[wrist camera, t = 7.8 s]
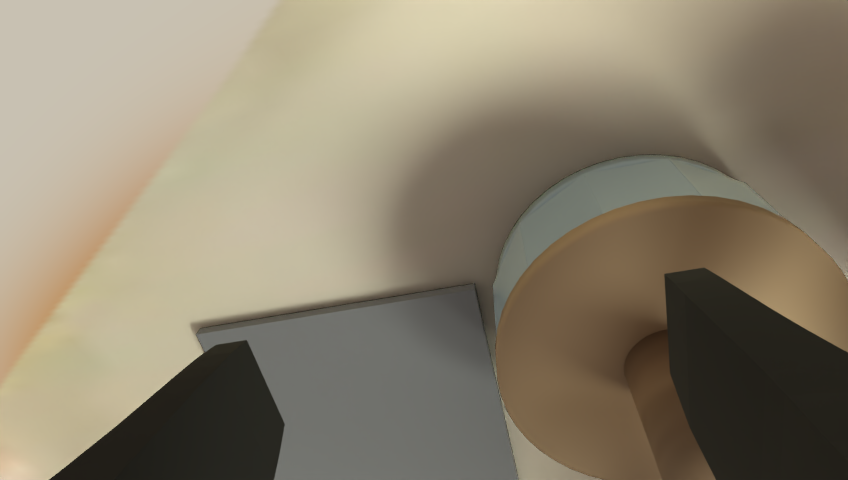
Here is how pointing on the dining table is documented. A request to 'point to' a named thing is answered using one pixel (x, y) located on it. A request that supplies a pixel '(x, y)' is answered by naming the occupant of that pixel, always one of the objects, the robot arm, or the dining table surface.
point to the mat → (382, 389)
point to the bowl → (605, 205)
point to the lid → (643, 327)
